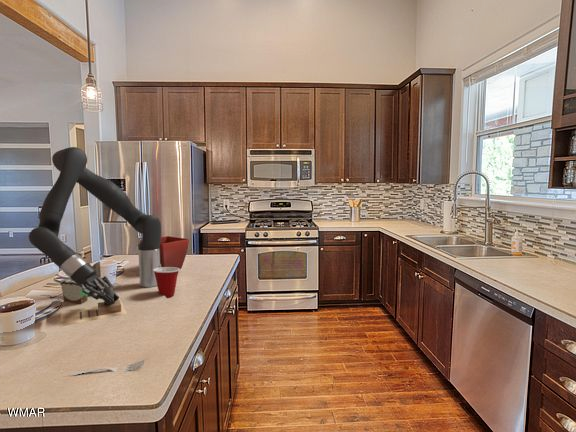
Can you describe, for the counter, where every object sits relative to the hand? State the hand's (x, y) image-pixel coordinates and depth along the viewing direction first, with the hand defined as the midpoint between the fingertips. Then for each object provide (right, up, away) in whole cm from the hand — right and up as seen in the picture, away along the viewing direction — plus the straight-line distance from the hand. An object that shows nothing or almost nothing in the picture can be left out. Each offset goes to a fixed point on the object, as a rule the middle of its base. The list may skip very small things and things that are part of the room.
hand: (114, 301), depth 125 cm
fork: (+14, -9, -38) cm, 41 cm away
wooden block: (-24, -3, +23) cm, 33 cm away
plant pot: (-5, +1, +66) cm, 66 cm away
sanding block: (-2, -3, 0) cm, 4 cm away
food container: (-20, -4, +12) cm, 23 cm away
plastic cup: (+12, -3, +21) cm, 24 cm away
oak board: (-6, -5, -2) cm, 8 cm away
